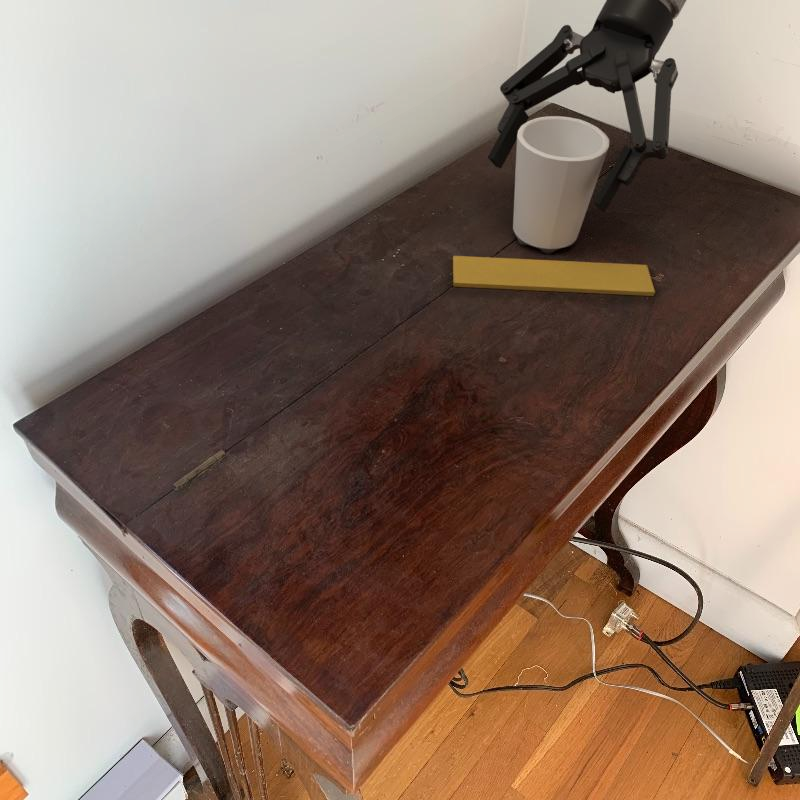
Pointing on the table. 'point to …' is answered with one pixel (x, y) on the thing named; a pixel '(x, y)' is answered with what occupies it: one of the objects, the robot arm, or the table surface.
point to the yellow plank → (552, 275)
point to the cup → (555, 179)
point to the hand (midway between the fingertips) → (544, 185)
